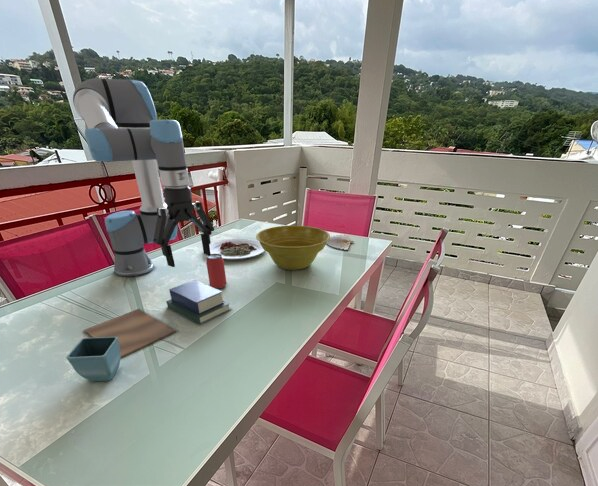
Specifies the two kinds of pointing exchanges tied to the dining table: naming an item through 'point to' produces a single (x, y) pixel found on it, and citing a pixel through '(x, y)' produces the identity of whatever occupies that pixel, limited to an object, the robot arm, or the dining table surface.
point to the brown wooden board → (132, 331)
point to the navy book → (196, 296)
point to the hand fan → (339, 241)
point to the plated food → (236, 248)
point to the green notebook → (201, 317)
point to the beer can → (216, 271)
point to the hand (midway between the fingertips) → (190, 260)
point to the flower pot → (96, 358)
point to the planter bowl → (293, 245)
